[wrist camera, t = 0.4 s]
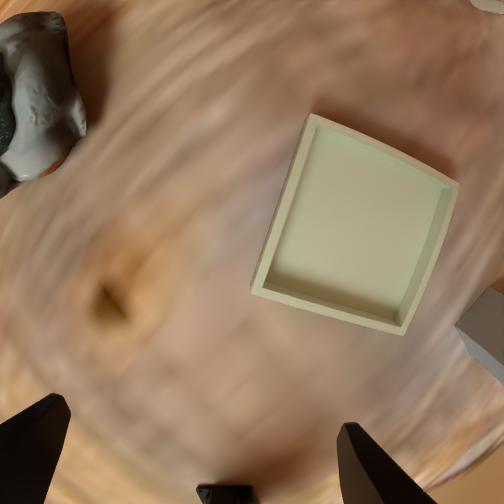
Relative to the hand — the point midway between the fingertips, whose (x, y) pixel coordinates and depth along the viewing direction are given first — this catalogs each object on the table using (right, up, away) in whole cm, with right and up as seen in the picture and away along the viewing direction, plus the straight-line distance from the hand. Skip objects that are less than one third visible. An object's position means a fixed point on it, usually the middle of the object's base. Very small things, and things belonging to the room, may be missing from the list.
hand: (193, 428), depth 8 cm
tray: (+9, +7, +13) cm, 17 cm away
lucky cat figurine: (-17, +16, +11) cm, 26 cm away
